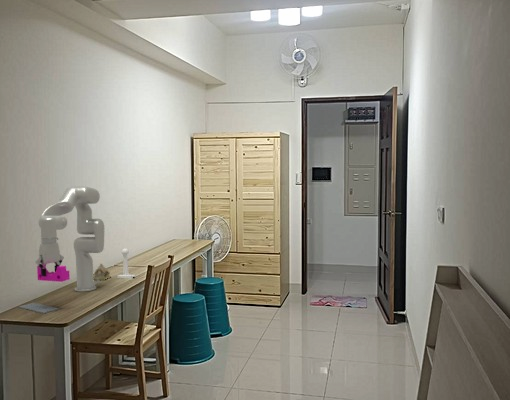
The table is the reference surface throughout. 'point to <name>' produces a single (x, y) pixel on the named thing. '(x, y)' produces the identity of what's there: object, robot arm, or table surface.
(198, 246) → the table surface
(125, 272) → the joystick
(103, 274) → the ceramic model
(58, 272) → the toy block
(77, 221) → the robot arm
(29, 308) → the mat
